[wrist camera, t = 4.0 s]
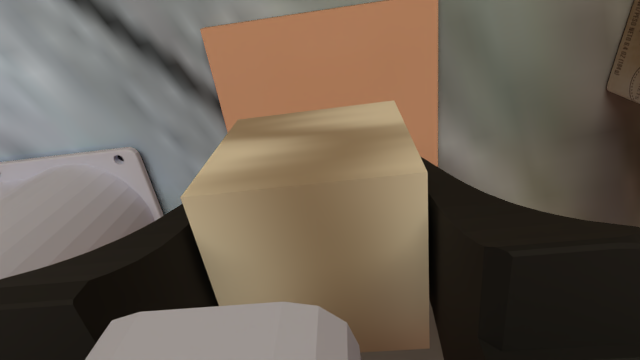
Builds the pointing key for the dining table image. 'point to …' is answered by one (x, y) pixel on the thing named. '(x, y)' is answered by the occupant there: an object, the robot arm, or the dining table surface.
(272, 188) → the birch block
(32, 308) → the robot arm
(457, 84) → the dining table surface
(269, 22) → the tile
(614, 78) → the coffee box
